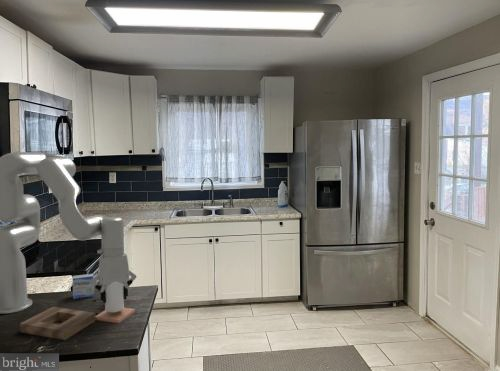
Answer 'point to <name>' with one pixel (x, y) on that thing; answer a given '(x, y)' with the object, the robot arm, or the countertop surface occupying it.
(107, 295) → the can
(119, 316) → the tile
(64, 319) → the well board
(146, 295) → the countertop surface
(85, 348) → the countertop surface
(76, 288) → the medicine box
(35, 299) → the countertop surface
